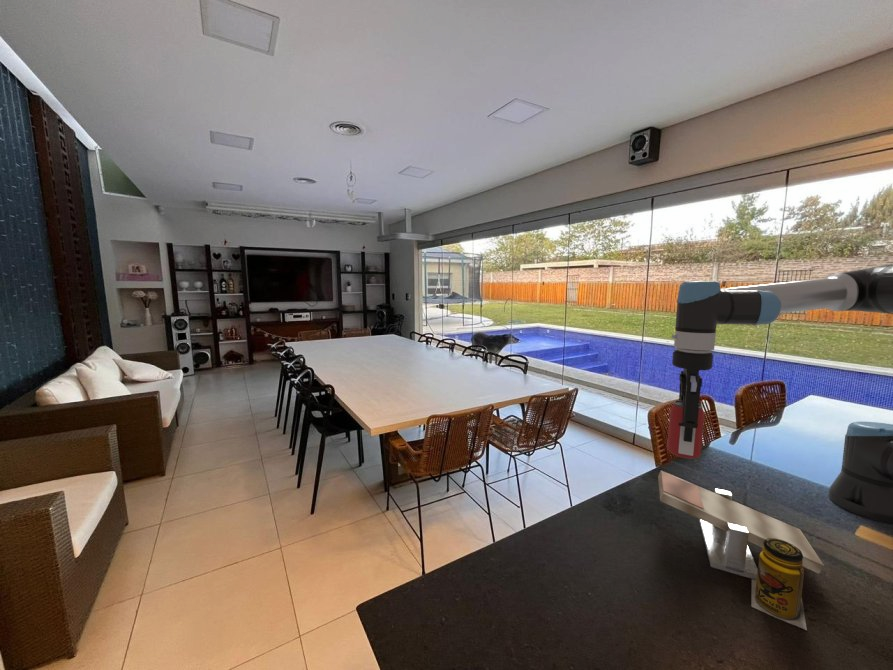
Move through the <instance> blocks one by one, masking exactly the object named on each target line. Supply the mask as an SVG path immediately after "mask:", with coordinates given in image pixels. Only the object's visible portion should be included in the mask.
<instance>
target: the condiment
mask: <svg viewBox="0 0 893 670" xmlns="http://www.w3.org/2000/svg"><path fill="white" fill-rule="evenodd" d="M802 560H803V554H802V552H801V551H800V549H798V548H797V547H796V546H794V545H792V544H791V543H788V542H786V541H783V540H780V539H775V538H768V539H765V541H764V546H763V548H762V551H760V553H759V554H758V567H757V569H758V573H757V580H754V579H751V605H750V606H751V608H753V609H756V610H757V611H760V612H763V613H764V614H767V615H768V616H771V617H774V618H775V619H778V620H780V621H783V622H785V623H786V624H790V625H792V626H796V627H798V628H801V629H803V630H805V631H808V628H807V623H806V622H807V621H806V617H805V609H804V601H803V598H802V594H803V587H804V586H803V585H804V579H805V567H803V566H802V564H803V562H802Z"/></svg>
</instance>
